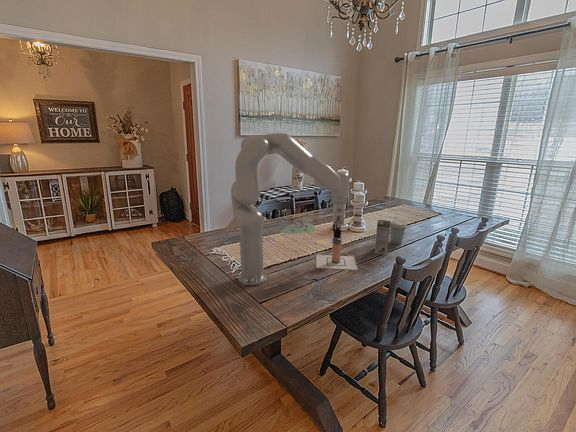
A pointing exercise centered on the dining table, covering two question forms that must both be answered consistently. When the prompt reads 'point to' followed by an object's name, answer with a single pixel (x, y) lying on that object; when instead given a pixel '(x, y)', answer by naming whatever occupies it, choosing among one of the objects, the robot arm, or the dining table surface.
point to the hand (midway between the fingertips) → (336, 234)
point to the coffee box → (382, 237)
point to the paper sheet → (326, 263)
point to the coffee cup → (397, 232)
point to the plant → (299, 228)
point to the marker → (336, 250)
